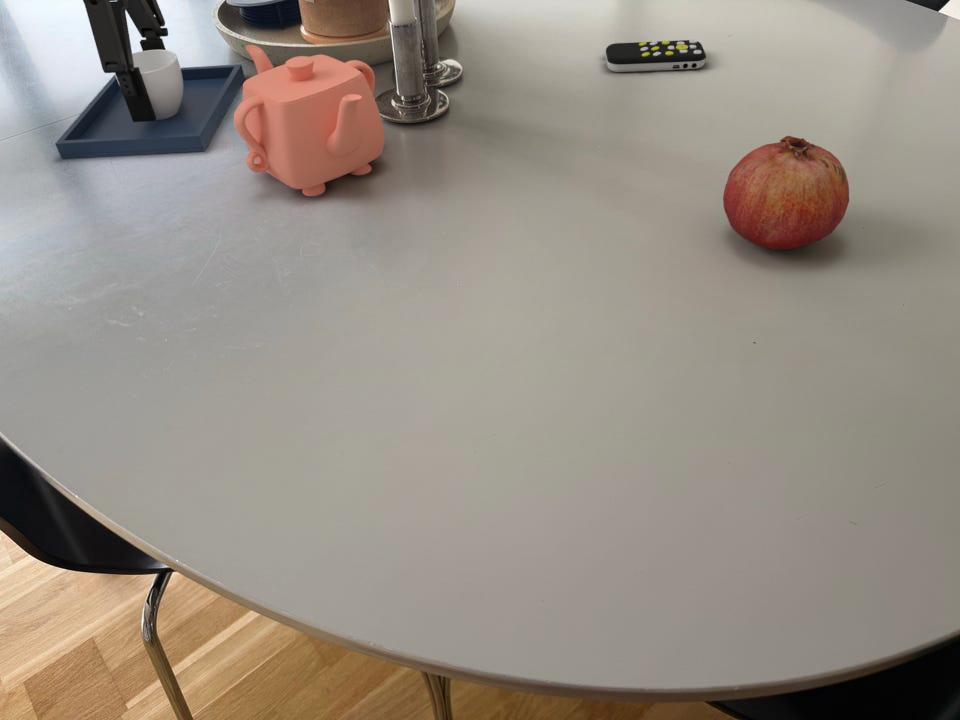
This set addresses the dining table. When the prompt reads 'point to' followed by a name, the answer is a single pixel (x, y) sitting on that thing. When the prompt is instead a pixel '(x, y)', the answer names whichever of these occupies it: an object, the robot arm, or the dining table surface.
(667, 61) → the remote control
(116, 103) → the tray
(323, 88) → the teapot
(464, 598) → the dining table surface
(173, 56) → the cup
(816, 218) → the fruit
